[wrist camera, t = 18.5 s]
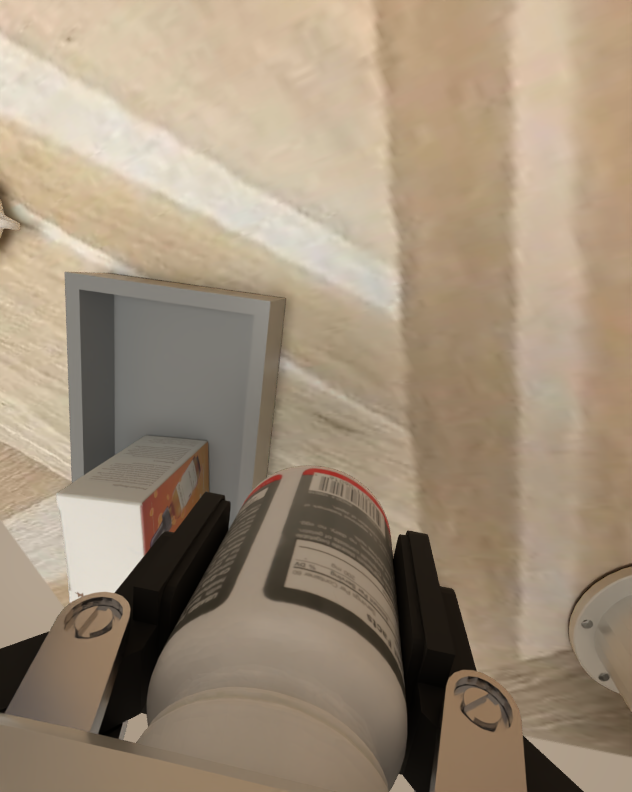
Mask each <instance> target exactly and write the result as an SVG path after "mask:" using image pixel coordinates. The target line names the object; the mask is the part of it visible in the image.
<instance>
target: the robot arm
mask: <svg viewBox="0 0 632 792" xmlns="http://www.w3.org/2000/svg"><path fill="white" fill-rule="evenodd" d="M230 509H231V502H230V501H226V500H225V495H222V494H216V493H211V492H205V493H204V494H203V495H202V497H201V498H200V499H199V500H198V502H197V503H196V504H195V506H194V507H193V508H192V510H191V511H190V512H189V514H188V515H187V516H186V518H185V519H184V520H183V522H182V523H181V524H180V525H179V527H178V528H177V529H176V531H175V532H169V531H165V532H163V533H162V534H161V535H160V537H159V538H158V539H157V540H156V542H155V543H154V544H153V545H152V547H151V548H150V549H149V550H148V552H147V553H146V554H145V555H144V557H143V558H142V559H141V560H140V562H139V563H138V564H137V565H136V567H135V568H134V569H133V570H132V572H131V573H130V574H129V575H128V577H127V578H126V579H125V580H124V582H123V583H122V584H121V585H120V586H119V588H118V589H117V590H116V591H115V593H111V592H97V593H92V594H88V595H85V596H82V597H80V598H78V599H76V600H74V601H72V602H71V603H70V604H69V605H67V606H66V607H65V608H64V609H63V610H62V611H61V613H60V614H59V615H58V617H57V618H56V621H55V622H54V624H53V626H52V627H51V629H50V631H49V632H47V633H43V634H41V635H38V636H35V637H33V638H29V639H27V640H24V641H21V642H18V643H15V644H13V645H10V646H7V647H4V648H1V649H0V792H336V791H332V790H328V789H324V788H320V787H316V786H312V785H308V784H304V783H300V782H296V781H291V780H287V779H283V778H279V777H275V776H271V775H267V774H263V773H259V772H254V771H250V770H246V769H242V768H238V767H234V766H230V765H225V764H221V763H217V762H213V761H209V760H205V759H201V758H196V757H192V756H188V755H184V754H180V753H176V752H171V751H167V750H163V749H159V748H154V747H150V746H146V745H142V744H137V743H133V742H128V741H124V740H123V739H124V735H125V732H126V728H127V723H128V720H129V719H131V718H133V717H135V716H137V715H139V714H140V713H144V714H147V694H148V687H149V683H150V679H151V676H152V673H153V671H154V668H155V666H156V663H157V661H158V658H159V656H160V654H161V652H162V650H163V648H164V646H165V644H166V642H167V640H168V638H169V636H170V635H171V633H172V631H173V629H174V628H175V626H176V624H177V622H178V620H179V619H180V617H181V615H182V613H183V611H184V609H185V608H186V606H187V604H188V602H189V601H190V599H191V597H192V595H193V593H194V592H195V590H196V588H197V586H198V584H199V582H200V581H201V579H202V577H203V575H204V574H205V572H206V570H207V568H208V566H209V564H210V563H211V561H212V559H213V557H214V555H215V554H216V552H217V550H218V548H219V546H220V545H221V543H222V541H223V539H224V537H225V536H226V534H227V532H228V529H229V519H230ZM393 565H394V575H395V584H396V595H397V605H398V615H399V630H400V639H401V651H402V661H403V671H404V682H405V694H406V706H407V743H406V750H405V756H404V760H403V763H402V766H401V769H400V772H399V774H402V775H403V776H404V777H405V779H406V780H407V781H408V782H409V784H410V785H411V786H412V788H413V789H414V792H583V791H582V790H581V789H580V788H579V787H578V786H577V785H576V784H575V783H574V782H573V781H571V779H569V778H568V777H567V776H566V775H565V774H564V773H563V772H562V771H561V770H560V769H559V768H557V767H556V766H555V765H554V764H553V763H552V762H551V761H550V760H549V759H548V758H546V756H545V755H544V754H542V753H541V752H540V751H539V750H538V749H537V748H536V747H535V746H534V745H533V744H532V743H531V742H529V741H528V740H527V739H526V738H525V737H524V736H523V733H522V720H521V716H520V711H519V708H518V706H517V704H516V703H515V701H514V699H513V697H512V696H511V695H510V694H509V693H508V691H507V690H506V689H505V688H504V687H503V686H502V685H500V684H499V683H498V682H497V681H496V680H494V679H493V678H491V677H489V676H487V675H485V674H484V673H480V672H477V671H476V667H475V664H474V660H473V656H472V653H471V649H470V645H469V642H468V638H467V634H466V631H465V627H464V623H463V620H462V616H461V612H460V609H459V605H458V601H457V598H456V594H455V592H454V590H453V589H451V588H446V587H441V586H440V585H439V581H438V577H437V572H436V568H435V563H434V559H433V555H432V550H431V546H430V542H429V537H428V535H427V534H423V533H418V532H413V531H407V532H406V535H401V534H400V535H399V537H398V540H397V545H396V549H395V553H394V558H393ZM569 638H570V643H571V646H572V649H573V652H574V653H575V655H576V657H577V659H578V661H579V663H580V665H581V666H582V667H583V669H584V670H585V671H586V672H587V674H588V675H589V676H590V677H591V678H593V679H594V680H595V681H596V682H597V683H599V684H601V685H602V686H604V687H606V688H607V689H609V690H611V691H614V692H616V693H619V694H621V696H622V697H623V699H624V701H625V702H626V704H627V706H628V707H629V709H630V711H631V712H632V567H628V568H624V569H621V570H619V571H617V572H615V573H612V574H610V575H608V576H606V577H605V578H603V579H601V580H600V581H598V582H597V583H595V584H594V585H593V586H592V587H591V588H590V589H589V590H588V591H587V592H585V593H584V594H583V596H582V597H581V599H580V600H579V601H578V603H577V604H576V606H575V608H574V611H573V613H572V615H571V619H570V624H569Z"/></svg>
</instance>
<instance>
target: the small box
mask: <svg viewBox="0 0 632 792" xmlns="http://www.w3.org/2000/svg"><path fill="white" fill-rule="evenodd" d="M205 492H209V460H208V442H207V441H202V440H192V439H182V438H171V437H160V436H149V435H146V436H144V437H142V438H141V439H139V440H137V441H136V442H134V443H133V444H131V445H130V446H128V447H127V448H125V449H124V450H122V451H121V452H119V453H117V454H116V455H114V456H113V457H111V458H110V459H108V460H107V461H105V462H104V463H102V464H101V465H99V466H97V467H96V468H94V469H93V470H91V471H90V472H88V473H87V474H85V475H84V476H82V477H80V478H79V479H78V480H76V481H74V482H73V483H71V484H70V485H68V486H67V487H65V488H64V489H62V490H61V491H59V492H58V493H57V494H56V500H57V507H58V509H59V515H60V522H61V529H62V536H63V544H64V551H65V559H66V567H67V575H68V585H69V602H70V603H71V602H72V601H74V600H76V599H78V598H80V597H82V596H85V595H88V594H92V593H97V592H111V593H115V591H116V590H117V589H118V588H119V586H120V585H121V584H122V583H123V582H124V580H125V579H126V578H127V577H128V575H129V574H130V573H131V572H132V570H133V569H134V568H135V567H136V565H137V564H138V563H139V562H140V560H141V559H142V558H143V557H144V555H145V554H146V553H147V552H148V550H149V549H150V548H151V547H152V545H153V544H154V543H155V542H156V540H157V539H158V538H159V537H160V535H161V534H162V533H163V532H165V531H169V532H175V531H176V529H177V528H178V527H179V525H180V524H181V523H182V522H183V520H184V519H185V518H186V516H187V515H188V514H189V512H190V511H191V510H192V508H193V507H194V506H195V504H196V503H197V502H198V500H199V499H200V498H201V497H202V495H203V494H204V493H205Z"/></svg>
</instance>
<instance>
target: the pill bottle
mask: <svg viewBox="0 0 632 792" xmlns="http://www.w3.org/2000/svg"><path fill="white" fill-rule="evenodd" d="M147 721H148V728H147V729H146V730H145V731H144V733H143V734H142V736H141V737H140V738H139V740H138V741H137V742H136V743H137V744H142V745H146V746H150V747H154V748H159V749H163V750H167V751H171V752H176V753H180V754H184V755H188V756H192V757H196V758H201V759H205V760H209V761H213V762H217V763H221V764H225V765H230V766H234V767H238V768H242V769H246V770H250V771H254V772H259V773H263V774H267V775H271V776H275V777H279V778H283V779H287V780H291V781H296V782H300V783H304V784H308V785H312V786H316V787H320V788H324V789H328V790H332V791H336V792H389V791H390V789H391V788H392V786H393V784H394V782H395V780H396V778H397V776H398V774H399V772H400V769H401V766H402V763H403V760H404V756H405V750H406V743H407V706H406V694H405V682H404V671H403V661H402V651H401V639H400V630H399V615H398V605H397V595H396V584H395V575H394V565H393V553H392V543H391V535H390V528H389V524H388V520H387V517H386V515H385V512H384V510H383V508H382V506H381V505H380V503H379V502H378V500H377V499H376V497H375V496H374V495H373V494H372V493H371V492H370V491H369V490H368V489H367V488H366V487H365V486H364V485H363V484H362V483H360V482H359V481H358V480H356V479H355V478H353V477H351V476H350V475H347V474H345V473H343V472H341V471H338V470H335V469H331V468H327V467H321V466H297V467H291V468H287V469H283V470H281V471H278V472H276V473H274V474H272V475H270V476H269V477H267V478H266V479H264V480H263V481H262V482H260V483H259V484H258V485H257V486H256V487H255V488H254V489H253V490H252V492H251V493H250V494H249V495H248V497H247V498H246V500H245V502H244V503H243V505H242V507H241V509H240V510H239V512H238V514H237V516H236V518H235V520H234V521H233V523H232V525H231V527H230V528H229V530H228V532H227V534H226V536H225V537H224V539H223V541H222V543H221V545H220V546H219V548H218V550H217V552H216V554H215V555H214V557H213V559H212V561H211V563H210V564H209V566H208V568H207V570H206V572H205V574H204V575H203V577H202V579H201V581H200V582H199V584H198V586H197V588H196V590H195V592H194V593H193V595H192V597H191V599H190V601H189V602H188V604H187V606H186V608H185V609H184V611H183V613H182V615H181V617H180V619H179V620H178V622H177V624H176V626H175V628H174V629H173V631H172V633H171V635H170V636H169V638H168V640H167V642H166V644H165V646H164V648H163V650H162V652H161V654H160V656H159V658H158V661H157V663H156V666H155V668H154V671H153V673H152V676H151V679H150V683H149V687H148V694H147Z"/></svg>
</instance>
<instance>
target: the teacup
mask: <svg viewBox="0 0 632 792" xmlns="http://www.w3.org/2000/svg"><path fill="white" fill-rule="evenodd" d="M3 229H12V230H20V223H19V222H17V221H15V220H13V219H11V218H9V217H7V216H6V215H4V211H3V207H2V203H1V201H0V237H1V235H2V232H3Z"/></svg>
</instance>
